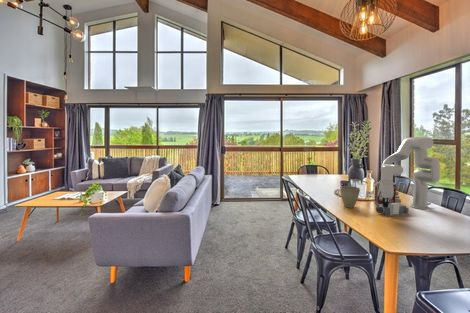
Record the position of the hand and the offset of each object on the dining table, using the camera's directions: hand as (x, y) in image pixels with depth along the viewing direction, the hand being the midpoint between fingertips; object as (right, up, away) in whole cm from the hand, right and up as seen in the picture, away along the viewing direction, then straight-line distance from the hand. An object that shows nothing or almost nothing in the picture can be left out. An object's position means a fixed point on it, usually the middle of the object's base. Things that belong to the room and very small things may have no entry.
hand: (385, 206), depth 185 cm
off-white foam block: (+8, -6, +2) cm, 10 cm away
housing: (+8, -7, +7) cm, 13 cm away
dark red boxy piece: (+18, -5, +27) cm, 33 cm away
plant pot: (-15, -5, +25) cm, 30 cm away
